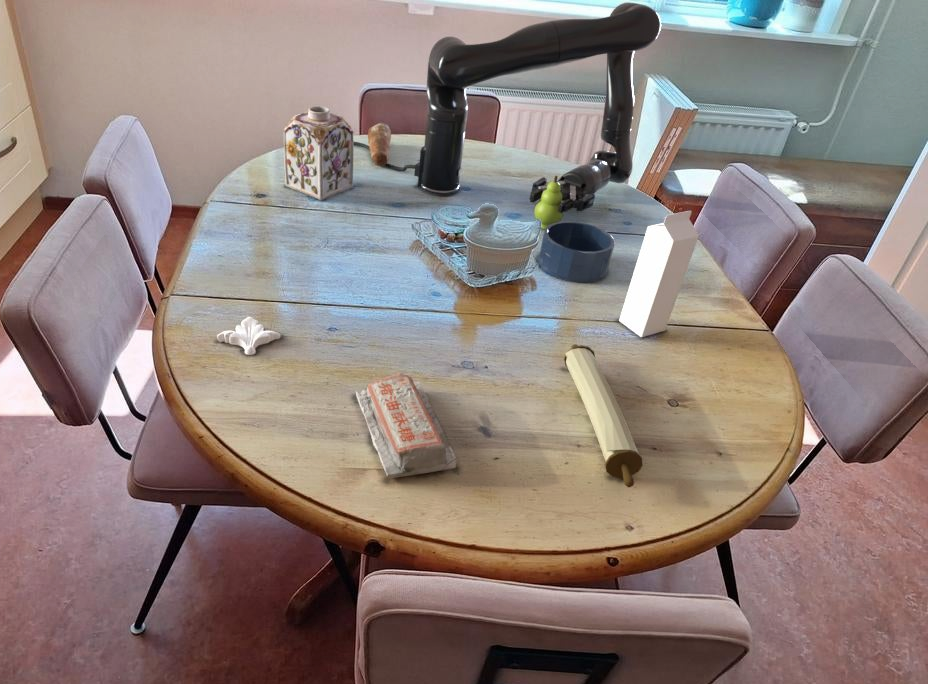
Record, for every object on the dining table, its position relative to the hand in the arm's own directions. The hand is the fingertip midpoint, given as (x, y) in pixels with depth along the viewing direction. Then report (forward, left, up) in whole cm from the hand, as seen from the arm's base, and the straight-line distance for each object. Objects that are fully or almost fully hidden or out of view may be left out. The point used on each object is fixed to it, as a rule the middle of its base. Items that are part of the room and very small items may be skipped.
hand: (546, 203), depth 153 cm
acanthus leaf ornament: (-26, -71, -6) cm, 76 cm away
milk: (+29, -28, -6) cm, 41 cm away
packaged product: (+6, -77, -6) cm, 77 cm away
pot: (+11, -13, -6) cm, 18 cm away
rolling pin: (+29, -59, -6) cm, 66 cm away
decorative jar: (-52, -12, -6) cm, 53 cm away
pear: (0, +2, -6) cm, 6 cm away
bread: (-51, +16, -6) cm, 54 cm away
